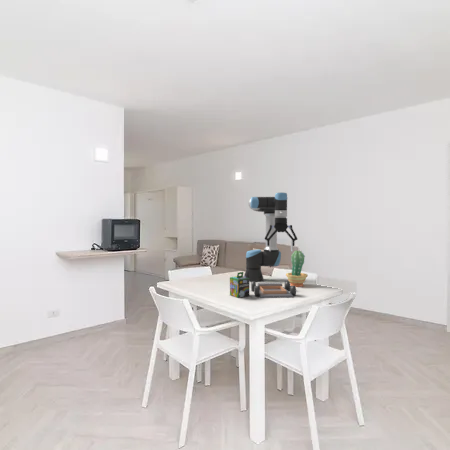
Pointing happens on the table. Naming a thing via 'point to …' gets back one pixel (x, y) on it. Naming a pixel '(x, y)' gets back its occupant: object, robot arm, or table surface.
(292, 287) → the chassis
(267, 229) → the robot arm
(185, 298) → the table surface
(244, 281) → the chalk box
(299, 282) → the potted cactus
